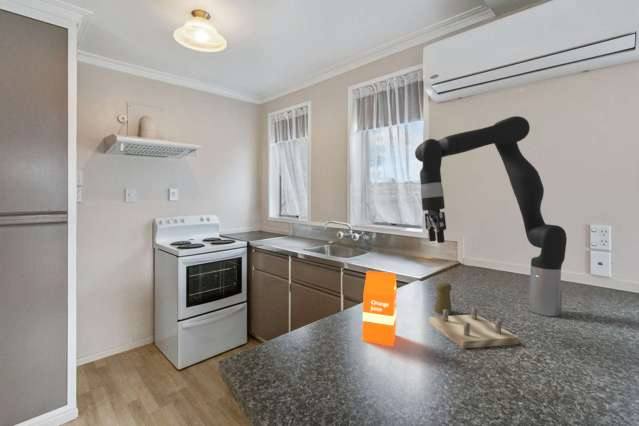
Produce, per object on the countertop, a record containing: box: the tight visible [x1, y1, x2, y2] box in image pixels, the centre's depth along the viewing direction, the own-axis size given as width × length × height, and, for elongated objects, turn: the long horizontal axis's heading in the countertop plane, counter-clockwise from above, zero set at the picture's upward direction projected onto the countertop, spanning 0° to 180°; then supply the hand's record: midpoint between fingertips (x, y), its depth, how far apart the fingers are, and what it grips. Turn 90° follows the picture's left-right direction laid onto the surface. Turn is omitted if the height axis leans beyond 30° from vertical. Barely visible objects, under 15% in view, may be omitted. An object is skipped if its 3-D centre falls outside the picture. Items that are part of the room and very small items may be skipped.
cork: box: [434, 281, 453, 316], centre depth 114 cm, size 6×6×11 cm
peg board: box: [428, 307, 520, 350], centre depth 96 cm, size 18×18×6 cm
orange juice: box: [362, 270, 398, 347], centre depth 91 cm, size 8×9×20 cm
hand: (436, 241), depth 108 cm, fingers open, 8 cm apart
